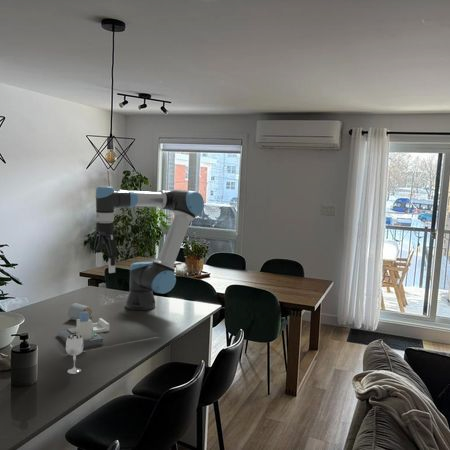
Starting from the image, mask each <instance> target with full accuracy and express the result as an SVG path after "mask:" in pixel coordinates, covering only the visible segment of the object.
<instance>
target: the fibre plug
mask: <svg viewBox="0 0 450 450" xmlns="http://www.w3.org/2000/svg"><path fill="white" fill-rule="evenodd" d="M92 323H93V320H91V318H90V319H89V312H80V319H77V321H76V326H75V327H76V335H81V336H82V338H83V340H89V339H92Z"/></svg>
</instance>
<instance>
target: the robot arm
mask: <svg viewBox="0 0 450 450" xmlns="http://www.w3.org/2000/svg"><path fill="white" fill-rule="evenodd" d="M134 207H148V208H149V207H150V208H153V207H154V208H157V209H158V210H168V211H171V212H172V213H173V215H174V217H173V219H172V221H171V224H170V226H169V228H168V231H167V234H166V237H165V238H164V242H163V244H162V246H161V250H160V251H159V254H158V256H157V259H156V260H154V261H153V262H152V261H139V262H138V261H137V262H132V263H131V264H130V267H129V290H128V291H129V292H128V295H127V298H126V301H125V308H127V309H129V310H133V311H148V310H152V309H154V308H156V300H155V296H154V294H153V293H157V294H167V293H168V292H171V290H172V289H173V288H174V287H175V285H176V282H177V278H176V274H175V272H176V268H175V263H176V260H177V257H178V255H179V252H180V249H181V246H182V244H183V242H184V240H185V236H186V234H187V232H188V230H189V229H188V228H189V226H190V224H191V222H193V221H195V219H196V216H198V215H200V214H201V213H202V212H203V210H204V207H205V201H204V197H203V196H202V194H201V193H200V192H198V191H194V190H185V189H172V190H171V189H170V190H158V191H142V190H129V189H128V190H127V189H126V190H125V189H115V188H114V187H113V186H101V185H100V186H97V187H96V189H95V220H96V223H95V224H96V225H95V226H96V227H95V229H96V231H95V233H96V234H95V240H94V245H93V251H94V252H95V267H96V268H101V267H102V268H103V248H104V246H105V248H106V250H107V253H108V257H107V259H108V273H109V274H113V273H115V274H116V258H118V257H119V255H118V249H117V244H116V239H115V237H116V236H115V234H112V233H111V232H114V230H115V223H114V222H115V209H117V208H120V209H121V208H134Z"/></svg>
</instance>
